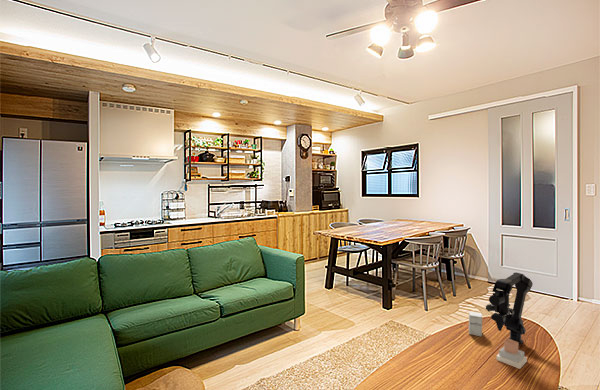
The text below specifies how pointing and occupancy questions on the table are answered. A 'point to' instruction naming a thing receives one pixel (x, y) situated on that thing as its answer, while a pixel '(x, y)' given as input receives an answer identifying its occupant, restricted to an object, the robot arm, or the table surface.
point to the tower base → (512, 363)
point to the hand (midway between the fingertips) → (502, 328)
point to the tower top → (512, 355)
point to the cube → (511, 346)
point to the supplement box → (475, 323)
